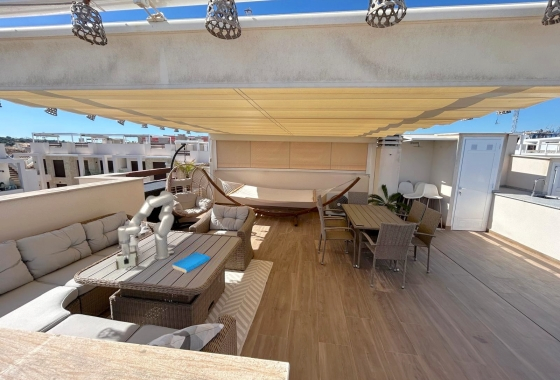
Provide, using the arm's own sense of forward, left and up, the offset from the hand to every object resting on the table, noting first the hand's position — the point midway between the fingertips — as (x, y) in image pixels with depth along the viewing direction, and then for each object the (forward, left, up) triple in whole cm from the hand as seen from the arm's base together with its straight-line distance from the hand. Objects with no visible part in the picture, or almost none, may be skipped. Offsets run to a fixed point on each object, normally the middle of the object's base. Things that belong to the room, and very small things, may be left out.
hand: (126, 261), depth 182 cm
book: (-46, +21, -5) cm, 51 cm away
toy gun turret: (-5, -22, -5) cm, 23 cm away
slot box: (0, -6, -5) cm, 7 cm away
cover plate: (0, 0, -5) cm, 5 cm away
